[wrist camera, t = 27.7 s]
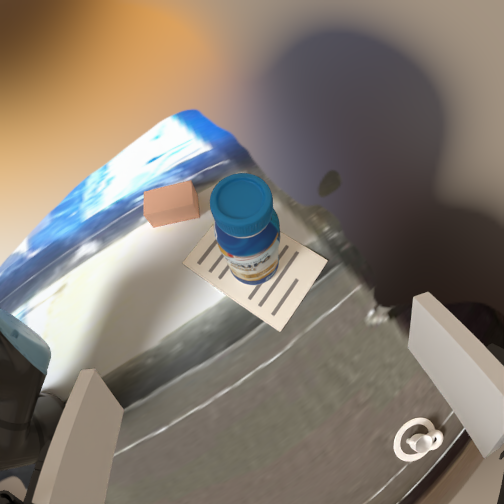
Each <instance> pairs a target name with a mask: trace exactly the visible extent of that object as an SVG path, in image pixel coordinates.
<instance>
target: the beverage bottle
mask: <svg viewBox="0 0 504 504" xmlns="http://www.w3.org/2000/svg"><path fill="white" fill-rule="evenodd" d="M210 208H211V212H212V215H213V217H214V219H215V222H214V234H215V238H216V240H217V244H218V247H219V249H220V251H221V253H222V254H223V256H224V257H225V259H226V261H227V264H228V266H229V268H230V271H231V273H232V274H233V276H234V277H235V278H236V279H237V280H238V281H240V282H242V283H244V284H247V285H260V284H263V283H265V282H267V281H268V280H270V279H271V278H272V277H273V276H274V275H275V273H276V271H277V269H278V266H279V255H278V246H279V243H280V228H279V219H278V216H277V214H276V212H275V210H274V209H273V198H272V193H271V191H270V188H269V187H268V185H267V184H266V182H265V181H263V180H262V179H261V178H259V177H257V176H255V175H252V174H247V173H238V174H233V175H230V176H228V177H226V178H224V179H223V180H221V181H220V182H219V183H218V184H217V185H216V186H215V188H214V189H213V191H212V193H211V197H210Z"/></svg>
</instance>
